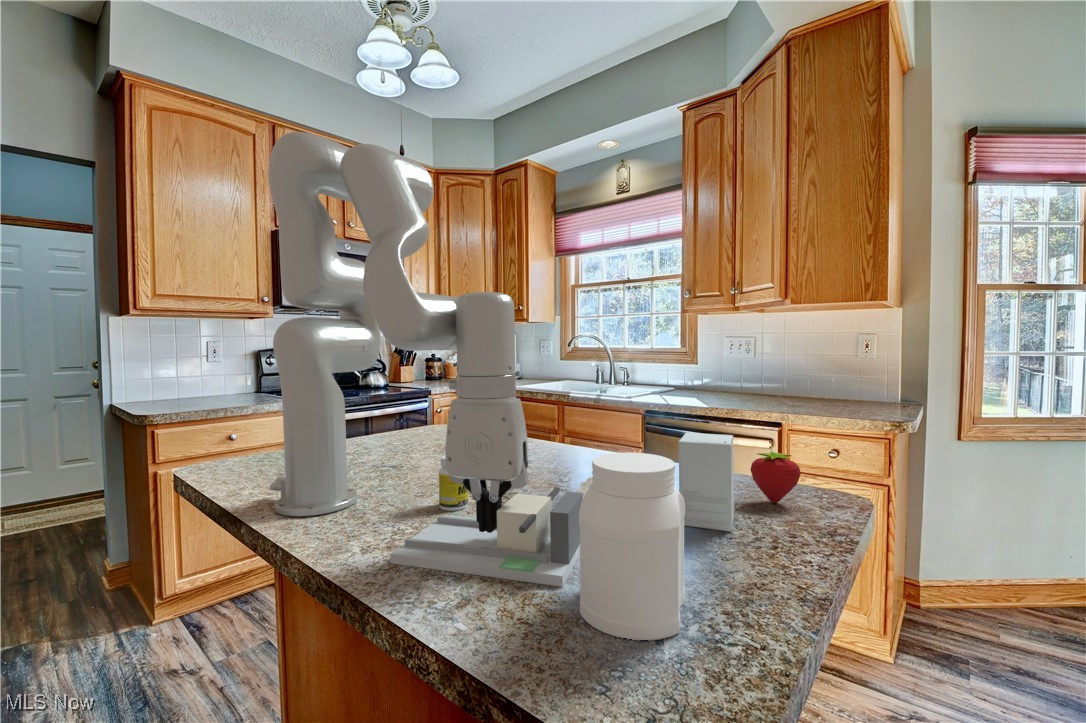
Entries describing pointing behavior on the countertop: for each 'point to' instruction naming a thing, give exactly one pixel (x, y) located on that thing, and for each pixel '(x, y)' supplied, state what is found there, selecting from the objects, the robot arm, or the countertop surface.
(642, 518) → the jar
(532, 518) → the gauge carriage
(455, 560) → the board
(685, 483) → the supplement box
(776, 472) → the strawberry
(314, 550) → the countertop surface
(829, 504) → the countertop surface
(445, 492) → the supplement bottle
